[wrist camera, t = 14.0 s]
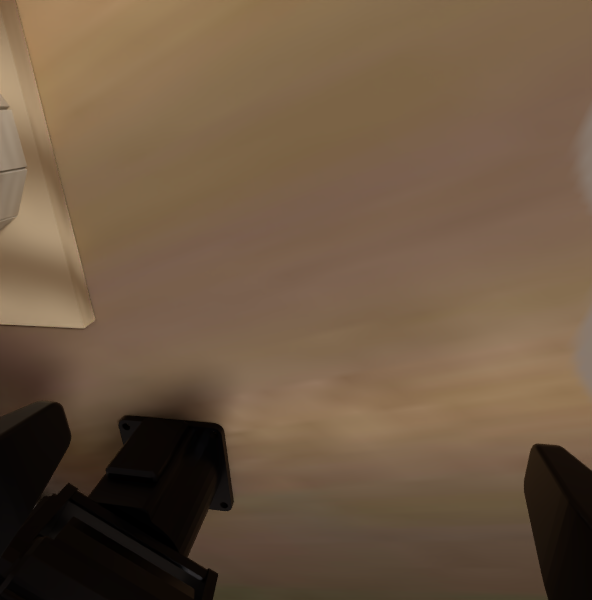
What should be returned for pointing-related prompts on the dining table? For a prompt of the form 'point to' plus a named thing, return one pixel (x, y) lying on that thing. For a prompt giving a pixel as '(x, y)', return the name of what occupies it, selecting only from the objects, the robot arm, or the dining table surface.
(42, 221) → the lamp base
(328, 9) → the dining table surface
